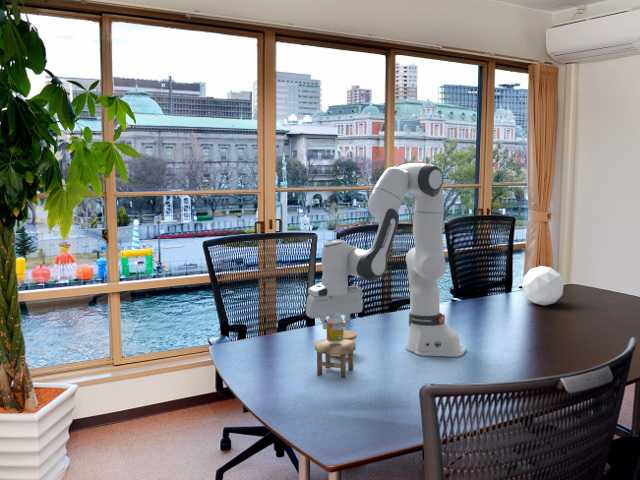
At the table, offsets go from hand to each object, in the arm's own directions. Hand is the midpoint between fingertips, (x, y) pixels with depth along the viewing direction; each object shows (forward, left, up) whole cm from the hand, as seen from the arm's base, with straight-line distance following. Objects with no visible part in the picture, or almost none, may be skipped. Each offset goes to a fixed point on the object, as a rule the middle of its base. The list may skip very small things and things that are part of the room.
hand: (334, 327), depth 208 cm
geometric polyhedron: (-66, -126, -16) cm, 143 cm away
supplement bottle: (0, 0, -5) cm, 5 cm away
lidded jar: (+4, -20, -16) cm, 26 cm away
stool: (0, 0, -16) cm, 16 cm away
